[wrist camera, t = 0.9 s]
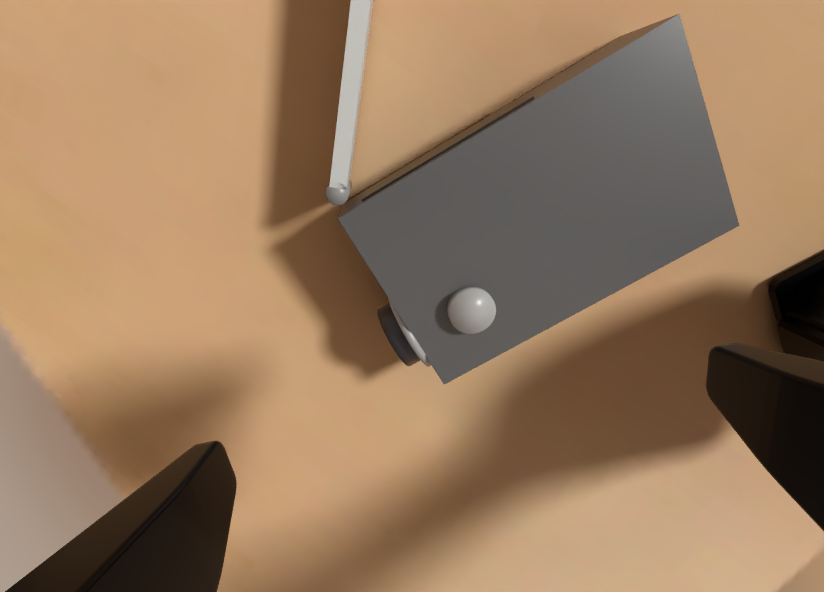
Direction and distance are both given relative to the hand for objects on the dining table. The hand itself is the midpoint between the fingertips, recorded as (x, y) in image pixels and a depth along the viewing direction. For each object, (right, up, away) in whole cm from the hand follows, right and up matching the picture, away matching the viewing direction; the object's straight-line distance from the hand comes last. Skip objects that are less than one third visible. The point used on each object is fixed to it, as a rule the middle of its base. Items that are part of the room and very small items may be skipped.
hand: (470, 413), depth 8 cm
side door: (-3, +11, +9) cm, 15 cm away
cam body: (+4, +6, +12) cm, 14 cm away
